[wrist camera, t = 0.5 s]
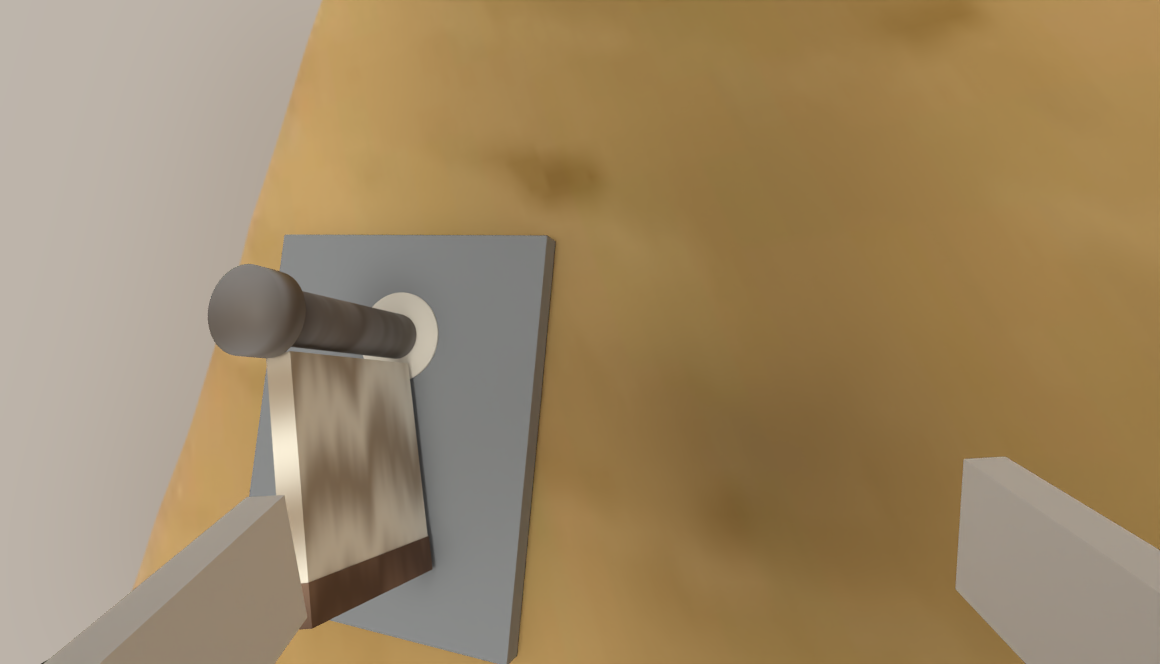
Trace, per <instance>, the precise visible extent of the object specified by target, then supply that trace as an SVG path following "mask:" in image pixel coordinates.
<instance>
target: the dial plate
mask: <svg viewBox="0 0 1160 664" xmlns="http://www.w3.org/2000/svg"><path fill="white" fill-rule="evenodd" d="M554 253H555V241H554V240H552V239H551V238H550V237H548V236H515V235H285V236H284V243H283V251H282V258H281V266H280V272H284V273H286V274H288V275H290V276H291V277H293V278H294V279H295V280H296V281H297V283H298V284H299V286H300V287H301V289H302V291H304V292H308V293H313V294H317V295H321V296H325V297H330V298H334V299H338V300H342V301H347V302H351V303H355V304H360V305H364V306H368V307H372V308H377V309H381V310H385V311H389V312H394V313H398V314H402V315H405V316H407V317H408V318H410V319H411V320H412V322H413V323H414V325H415V328H416V341H415V344H414V347H413V348H412V350H411V351H410V352H409V353H408V354H407V355H406V356H404V357H402V358H398V359H392V358H384V357H375V356H366V355H357V354H349V353H340V352H331V351H322V350H313V349H305V348H296V347H290V348H289V349H288V350H287V351H286V352H288V351H295V352H304V353H314V354H323V355H333V356H342V357H352V358H361V359H371V360H380V361H390V362H399V363H408V367H409V376H410V385H411V394H412V402H413V411H414V420H415V429H416V438H417V446H418V455H419V464H420V473H421V482H422V490H423V499H424V508H425V517H426V526H427V534H428V536H429V542H430V551H431V559H432V568H433V569H432V570H430V571H428V572H426V573H424V574H422V575H420V576H418V577H416V578H414V579H412V580H410V581H408V582H406V583H404V584H402V585H400V586H398V587H396V588H394V589H392V590H389V591H387V592H385V593H383V594H381V595H379V596H377V597H375V598H373V599H371V600H369V601H367V602H365V603H363V604H361V605H359V606H357V607H355V608H353V609H351V610H349V611H347V612H345V613H343V614H341V615H339V616H336V617H334V618H332V619H330V620H331V621H335V622H339V623H343V624H346V625H350V626H354V627H358V628H362V629H366V630H370V631H373V632H377V633H381V634H385V635H389V636H393V637H397V638H401V639H404V640H408V641H412V642H416V643H420V644H424V645H428V646H431V647H435V648H439V649H443V650H447V651H451V652H455V653H458V654H462V655H466V656H470V657H474V658H478V659H482V660H485V661H489V662H493V663H497V664H509V663H510V662H511V661H512V660H513V659H514V658H515V657H516V656H517V650H518V639H519V628H520V618H521V607H522V596H523V585H524V575H525V564H526V553H527V542H528V532H529V521H530V510H531V500H532V489H533V478H534V467H535V457H536V446H537V435H538V424H539V414H540V403H541V392H542V381H543V371H544V360H545V349H546V338H547V328H548V317H549V306H550V296H551V285H552V274H553V263H554ZM257 496H276V485H275V471H274V458H273V444H272V430H271V416H270V403H269V389H268V375H267V369H266V377H265V384H264V392H263V399H262V406H261V414H260V421H259V429H258V436H257V443H256V451H255V458H254V466H253V473H252V480H251V488H250V495H249V497H257Z"/></svg>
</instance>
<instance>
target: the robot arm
mask: <svg viewBox="0 0 1160 664" xmlns="http://www.w3.org/2000/svg"><path fill="white" fill-rule="evenodd" d="M956 590H957V591H958V592H959V593H960V594H961V595H962V597H963V598H964V599H965V600H966V601H967V602H968V603H969V604H970V605H971V606H972V607H973V608H974V609H975V610H976V611H977V612H978V614H979V615H980V616H981V617H982V618H983V619H984V620H985V621H986V622H987V623H988V624H989V625H990V626H991V627H992V628H993V629H994V630H995V632H996V633H997V634H998V635H999V636H1000V637H1001V638H1002V639H1003V640H1004V641H1005V642H1006V643H1007V644H1008V645H1009V646H1010V647H1011V649H1012V650H1013V651H1014V652H1015V653H1016V654H1017V655H1018V656H1019V657H1020V658H1021V659H1022V660H1023V661H1024V662H1025V663H1026V664H1160V550H1159V549H1157V548H1155V547H1154V546H1152V545H1150V544H1149V543H1147V542H1145V541H1144V540H1142V539H1140V538H1139V537H1137V536H1135V535H1134V534H1132V533H1131V532H1129V531H1127V530H1126V529H1124V528H1122V527H1121V526H1119V525H1117V524H1116V523H1114V522H1112V521H1111V520H1109V519H1107V518H1106V517H1104V516H1103V515H1101V514H1099V513H1098V512H1096V511H1094V510H1093V509H1091V508H1089V507H1088V506H1086V505H1084V504H1083V503H1081V502H1079V501H1078V500H1076V499H1074V498H1073V497H1071V496H1070V495H1068V494H1066V493H1065V492H1063V491H1061V490H1060V489H1058V488H1056V487H1055V486H1053V485H1051V484H1050V483H1048V482H1046V481H1045V480H1043V479H1042V478H1040V477H1038V476H1037V475H1035V474H1033V473H1032V472H1030V471H1028V470H1027V469H1025V468H1023V467H1022V466H1020V465H1018V464H1017V463H1015V462H1013V461H1012V460H1010V459H1009V458H1007V457H990V458H971V459H964V463H963V478H962V494H961V510H960V526H959V541H958V557H957V573H956ZM306 619H307V613H306V608H305V603H304V597H303V592H302V587H301V581H300V576H299V570H298V565H297V560H296V554H295V549H294V544H293V538H292V533H291V528H290V522H289V517H288V512H287V506H286V501H285V495H276V496H257V497H246V498H245V499H244V500H243V501H241V502H240V503H239V504H238V505H237V506H235V507H234V508H233V509H232V510H230V511H229V512H228V513H227V514H226V515H224V516H223V517H222V518H221V519H219V520H218V521H217V522H216V523H215V524H213V525H212V526H211V527H210V528H208V529H207V530H206V531H205V532H204V533H202V534H201V535H200V536H199V537H197V538H196V539H195V540H194V541H193V542H191V543H190V544H189V545H188V546H187V547H185V548H184V549H183V550H182V551H180V552H179V553H178V554H177V555H176V556H174V557H173V558H172V559H171V560H169V561H168V562H167V563H166V564H165V565H163V566H162V567H161V568H160V569H158V570H157V571H156V572H155V573H154V574H152V575H151V576H150V577H149V578H147V579H146V580H145V581H144V582H143V583H141V584H140V585H139V586H138V587H136V588H135V589H134V590H133V591H132V592H130V593H129V594H128V595H127V596H125V597H124V598H123V599H122V600H121V601H120V602H118V603H117V604H116V605H115V606H113V607H112V608H111V609H110V610H108V611H107V612H106V613H105V614H104V615H102V616H101V617H100V618H99V619H97V620H96V621H95V622H94V623H93V624H91V625H90V626H89V627H88V628H87V629H85V630H84V631H83V632H82V633H80V634H79V635H78V636H77V637H76V638H74V639H73V640H72V641H71V642H69V643H68V644H67V645H66V646H64V647H63V648H62V649H61V650H60V651H58V652H57V653H56V654H55V655H53V656H52V657H51V658H50V659H48V660H47V661H45V662H43V663H42V664H275V662H276V661H277V659H278V658H279V657H280V655H281V654H282V652H283V651H284V650H285V648H286V647H287V645H288V644H289V642H290V641H291V640H292V638H293V637H294V635H295V634H296V633H297V631H298V630H299V628H300V627H301V626H302V624H303V623H304V621H305V620H306Z"/></svg>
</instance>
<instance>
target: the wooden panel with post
mask: <svg viewBox="0 0 1160 664" xmlns="http://www.w3.org/2000/svg"><path fill="white" fill-rule="evenodd" d="M208 324H209V329H210V332H211V335H212V337H213V339H214V341H215V343H216V344H217V345H218V346H219V348H221V349H222V350H223V351H224V352H226V353H228V354H231V355H235V356H245V357H257V358H266V361H267V375H268V389H269V403H270V416H271V430H272V444H273V458H274V471H275V485H276V495H285V501H286V506H287V512H288V517H289V522H290V528H291V533H292V538H293V544H294V549H295V554H296V560H297V565H298V570H299V576H300V581H301V587H302V592H303V597H304V603H305V608H306V613H307V619H306V620H305V621H304V623H303V624H302V626H301V627H300V628H299V629H312V628H314V627H316V626H318V625H320V624H322V623H324V622H326V621H328V620H330V619H332V618H334V617H336V616H339V615H341V614H343V613H345V612H347V611H349V610H351V609H353V608H355V607H357V606H359V605H361V604H363V603H365V602H367V601H369V600H371V599H373V598H375V597H377V596H379V595H381V594H383V593H385V592H387V591H389V590H392V589H394V588H396V587H398V586H400V585H402V584H404V583H406V582H408V581H410V580H412V579H414V578H416V577H418V576H420V575H422V574H424V573H426V572H428V571H430V570H432V569H433V568H432V559H431V551H430V542H429V536H428V534H427V526H426V517H425V508H424V499H423V490H422V482H421V473H420V464H419V455H418V446H417V438H416V429H415V420H414V411H413V402H412V394H411V385H410V376H409V367H408V363H399V362H390V361H380V360H371V359H361V358H352V357H342V356H333V355H323V354H314V353H304V352H295V351H288V352H286V351H287V350H288V349H289V348H290V347H296V348H305V349H313V350H322V351H331V352H340V353H349V354H357V355H366V356H375V357H384V358H392V359H398V358H402V357H404V356H406V355H407V354H408V353H409V352H410V351H411V350H412V348H413V347H414V344H415V341H416V328H415V325H414V323H413V322H412V320H411V319H410V318H408V317H407V316H405V315H402V314H398V313H394V312H389V311H385V310H381V309H377V308H372V307H368V306H364V305H360V304H355V303H351V302H347V301H342V300H338V299H334V298H330V297H325V296H321V295H317V294H313V293H308V292H304V291H302V289H301V287H300V286H299V284H298V283H297V281H296V280H295V279H294V278H293V277H291V276H290V275H288V274H286V273H284V272H280V271H276V270H273V269H269V268H265V267H261V266H257V265H253V264H244V265H240V266H237V267H235V268H233V269H231V270H230V271H229V272H227V273H226V274H225V275H224V276H223V277H222V278H221V280H220V281H219V282H218V284H217V285H216V287H215V289H214V291H213V293H212V296H211V299H210V303H209V308H208Z"/></svg>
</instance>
